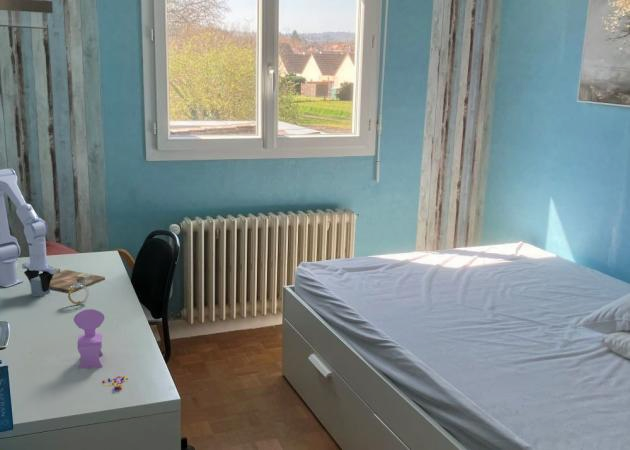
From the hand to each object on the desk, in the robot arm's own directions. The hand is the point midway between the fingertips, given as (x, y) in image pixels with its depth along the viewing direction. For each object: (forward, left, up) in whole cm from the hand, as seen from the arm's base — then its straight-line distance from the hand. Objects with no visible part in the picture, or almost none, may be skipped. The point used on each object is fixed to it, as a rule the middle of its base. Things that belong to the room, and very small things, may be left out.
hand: (40, 289), depth 243 cm
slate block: (0, 0, -2) cm, 2 cm away
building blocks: (+71, -43, -2) cm, 83 cm away
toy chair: (+56, -36, -2) cm, 67 cm away
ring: (+20, -2, -2) cm, 20 cm away
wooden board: (-1, +15, -2) cm, 15 cm away
